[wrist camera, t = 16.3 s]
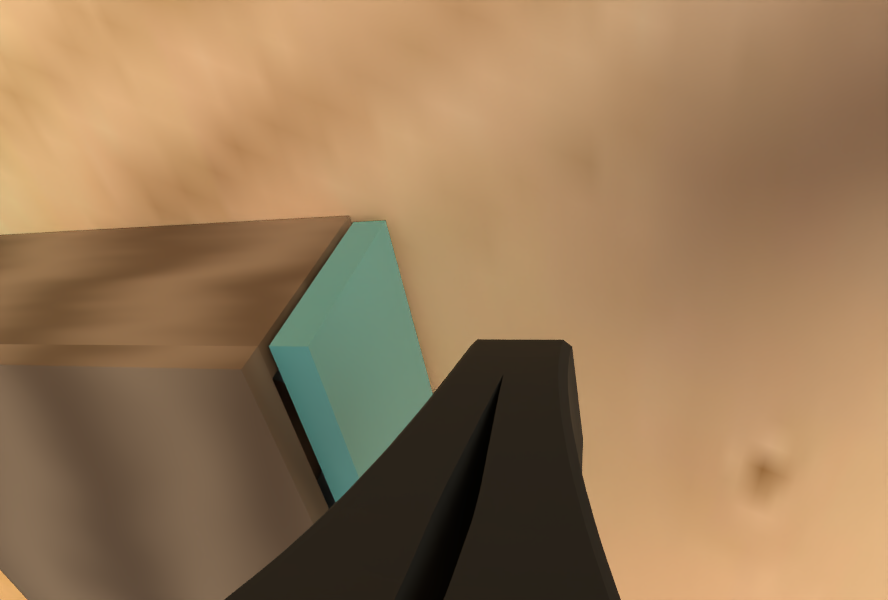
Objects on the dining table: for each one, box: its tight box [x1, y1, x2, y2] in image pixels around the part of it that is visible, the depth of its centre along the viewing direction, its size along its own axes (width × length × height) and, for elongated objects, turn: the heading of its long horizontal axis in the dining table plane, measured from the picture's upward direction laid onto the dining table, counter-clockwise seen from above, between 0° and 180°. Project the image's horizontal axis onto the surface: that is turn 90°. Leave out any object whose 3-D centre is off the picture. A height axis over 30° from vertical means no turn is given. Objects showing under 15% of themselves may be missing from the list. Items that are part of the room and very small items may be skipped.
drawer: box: [269, 221, 433, 509], centre depth 24 cm, size 14×16×6 cm
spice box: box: [0, 216, 352, 600], centre depth 25 cm, size 14×16×7 cm
